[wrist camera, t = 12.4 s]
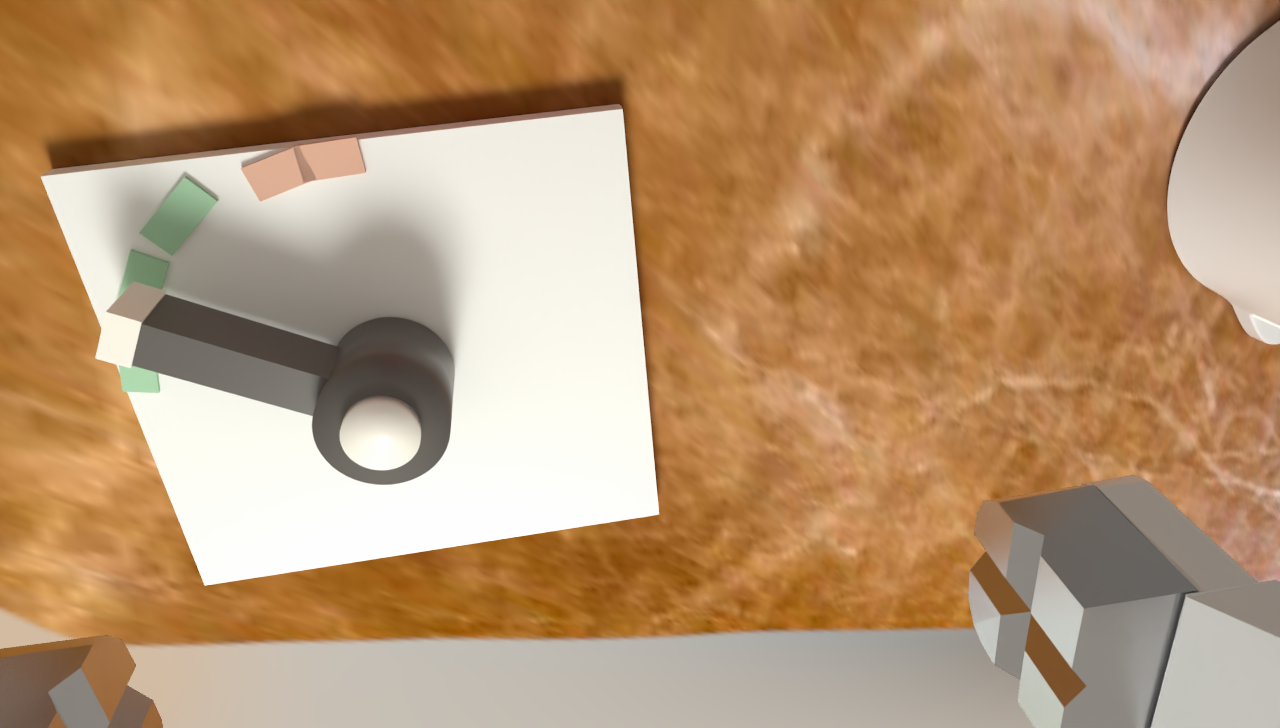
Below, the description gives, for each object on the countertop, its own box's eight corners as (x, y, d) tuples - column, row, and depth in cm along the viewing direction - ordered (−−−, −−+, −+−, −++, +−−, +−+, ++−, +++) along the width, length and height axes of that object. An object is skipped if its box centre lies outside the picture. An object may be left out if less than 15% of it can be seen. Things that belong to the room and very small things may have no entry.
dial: (471, 339, 39) (468, 401, 35) (432, 436, 41) (425, 507, 37) (149, 235, 35) (97, 289, 31) (123, 348, 37) (70, 415, 33)
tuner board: (619, 100, 37) (622, 106, 36) (655, 502, 46) (659, 516, 45) (48, 165, 35) (34, 174, 34) (209, 572, 44) (202, 588, 43)
